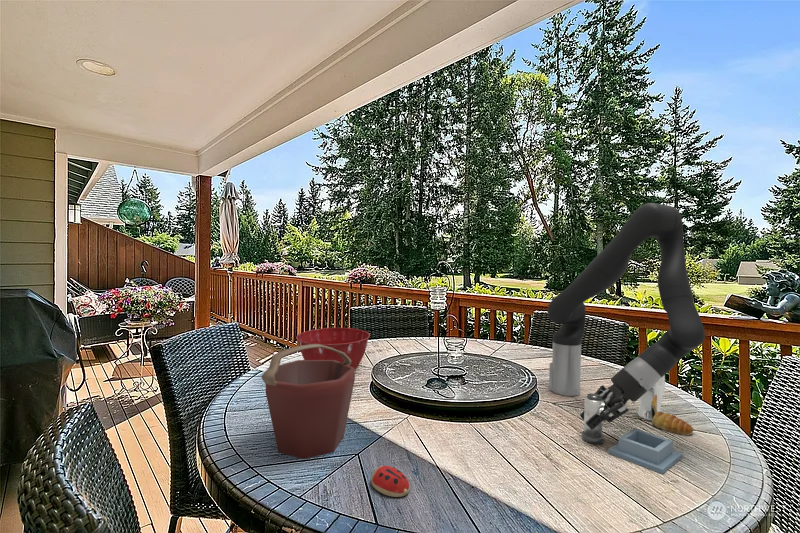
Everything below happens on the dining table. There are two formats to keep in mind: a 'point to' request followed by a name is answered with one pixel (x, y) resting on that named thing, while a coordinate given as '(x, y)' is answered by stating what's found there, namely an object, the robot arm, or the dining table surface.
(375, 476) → the ladybug figurine
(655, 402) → the beer glass
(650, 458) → the dock
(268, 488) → the dining table surface
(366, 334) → the mixing bowl
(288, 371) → the bucket
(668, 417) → the pastry
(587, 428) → the thermos
